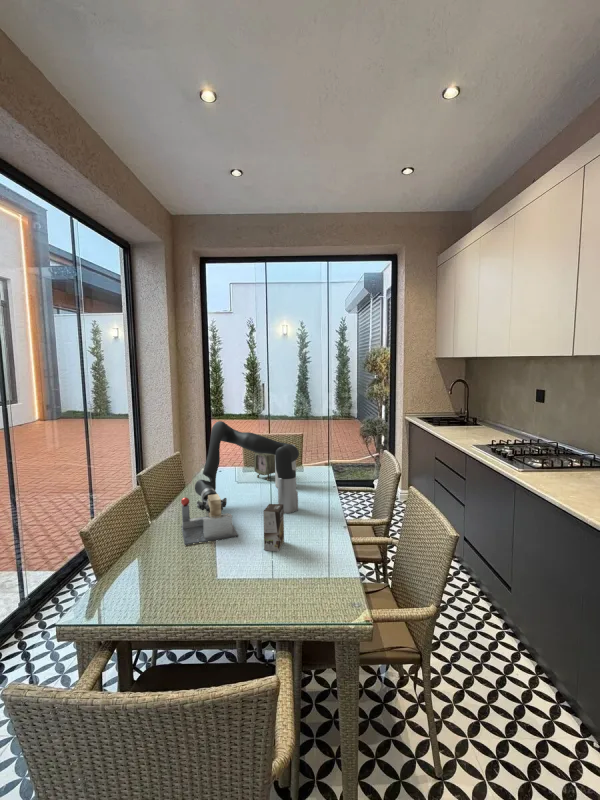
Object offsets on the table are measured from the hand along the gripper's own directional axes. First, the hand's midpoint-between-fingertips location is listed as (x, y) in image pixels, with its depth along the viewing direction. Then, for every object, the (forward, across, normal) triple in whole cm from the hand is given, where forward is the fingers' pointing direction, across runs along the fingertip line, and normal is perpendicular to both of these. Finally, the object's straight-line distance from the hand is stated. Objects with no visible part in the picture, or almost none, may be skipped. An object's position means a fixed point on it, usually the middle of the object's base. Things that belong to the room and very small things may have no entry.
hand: (215, 509), depth 172 cm
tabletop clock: (-74, +44, +11) cm, 86 cm away
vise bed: (-1, -3, +10) cm, 11 cm away
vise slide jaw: (-9, -3, +9) cm, 13 cm away
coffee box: (+23, +20, +10) cm, 32 cm away
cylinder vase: (-52, +50, +11) cm, 73 cm away
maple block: (-2, 0, +7) cm, 7 cm away
